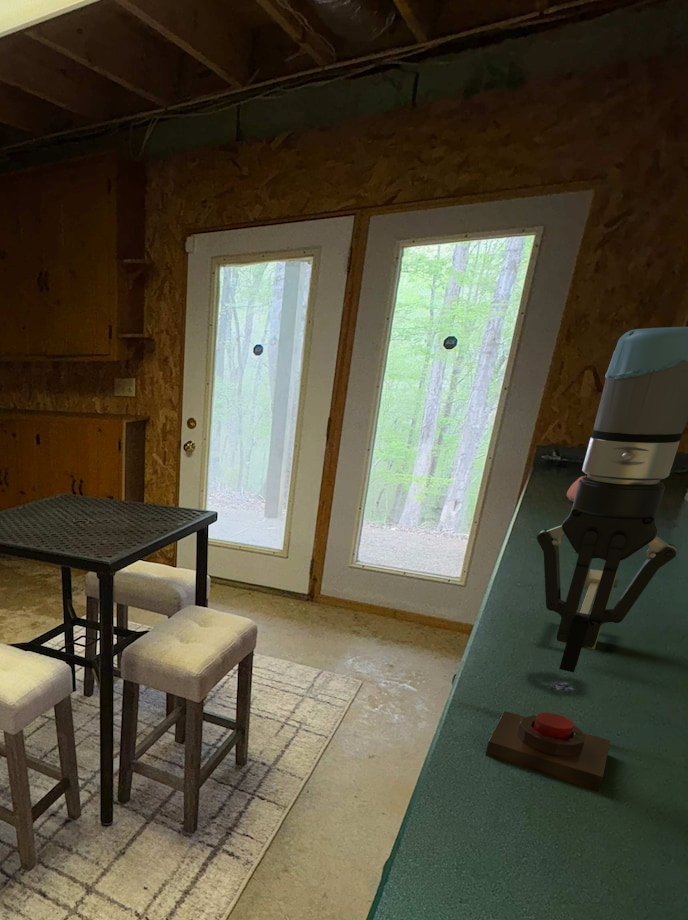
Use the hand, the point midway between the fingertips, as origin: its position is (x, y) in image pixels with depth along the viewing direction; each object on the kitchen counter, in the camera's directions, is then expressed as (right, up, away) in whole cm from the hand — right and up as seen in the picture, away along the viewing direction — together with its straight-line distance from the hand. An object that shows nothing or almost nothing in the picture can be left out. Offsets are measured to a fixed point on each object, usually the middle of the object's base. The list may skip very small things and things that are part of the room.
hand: (567, 666), depth 78 cm
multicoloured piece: (+24, +8, +27) cm, 37 cm away
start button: (+1, -9, +3) cm, 10 cm away
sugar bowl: (+111, +43, +136) cm, 181 cm away
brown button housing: (+1, -12, +5) cm, 13 cm away
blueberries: (+14, -6, +20) cm, 25 cm away
